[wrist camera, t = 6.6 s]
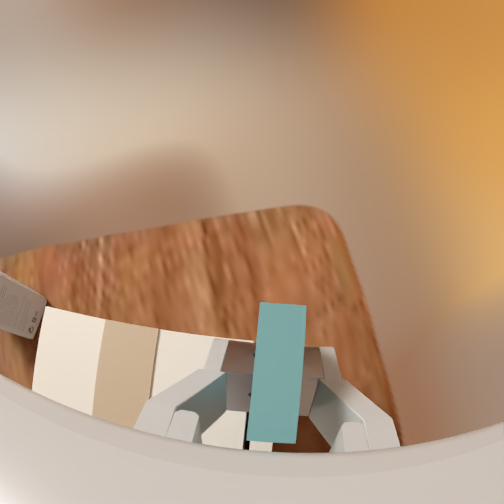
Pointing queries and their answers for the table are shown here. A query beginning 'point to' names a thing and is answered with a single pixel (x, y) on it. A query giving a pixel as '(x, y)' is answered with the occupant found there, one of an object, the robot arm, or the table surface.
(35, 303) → the skincare box
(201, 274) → the table surface
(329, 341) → the table surface
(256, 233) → the table surface
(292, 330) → the white teal flat panel
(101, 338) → the carton
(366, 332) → the table surface
